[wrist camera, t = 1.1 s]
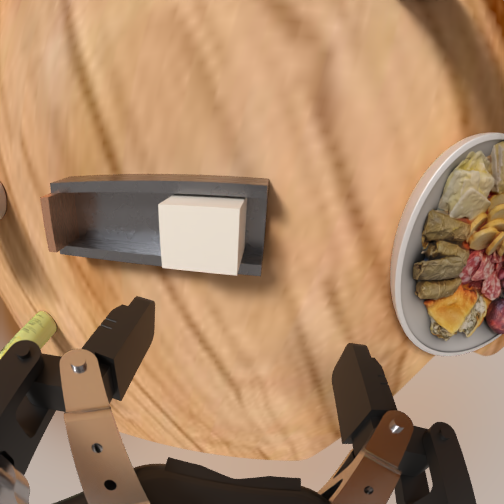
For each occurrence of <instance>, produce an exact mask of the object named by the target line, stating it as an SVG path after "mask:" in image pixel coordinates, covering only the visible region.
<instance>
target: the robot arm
mask: <svg viewBox="0 0 504 504" xmlns="http://www.w3.org/2000/svg"><path fill="white" fill-rule="evenodd" d="M154 322H155V302H154V301H152V300H148V299H145V298H141V297H138V296H137V297H135V298H134V300H133V301H132V302H131V303H130V305H129V306H125V305H121V306H119V307H117V308H115V309H113V310H112V311H111V312H110V313H109V315H108V316H107V317H106V319H105V320H104V321H103V322H102V323H101V326H99V327H98V328H97V330H96V331H95V332H94V333H93V335H92V336H91V337H90V338H89V340H88V341H87V342H86V344H85V345H84V346H83V347H82V349H73V350H70V351H68V352H66V353H65V354H64V355H63V356H62V357H60V356H53V355H47V354H42V353H41V350H40V348H39V346H38V345H37V344H36V343H35V342H33V341H30V340H21V341H18V342H16V343H14V344H13V345H12V346H11V347H10V348H9V349H8V350H7V352H6V353H5V354H4V355H3V356H2V358H1V359H0V504H29V494H30V487H29V483H28V481H27V479H26V478H25V476H24V474H25V472H26V470H27V468H28V465H29V463H30V461H31V459H32V456H33V455H34V452H35V450H36V448H37V446H38V444H39V442H40V440H41V438H42V436H43V434H44V432H45V430H46V428H47V426H48V424H49V422H50V421H51V419H52V417H53V415H54V413H55V411H56V410H58V411H64V412H65V413H64V421H65V425H66V430H67V435H68V440H69V444H70V448H71V452H72V455H73V459H74V463H75V467H76V470H77V473H78V476H79V479H80V483H81V486H82V488H83V492H81V493H79V494H76V495H74V496H71V497H69V498H67V499H64V500H61V501H59V502H56V503H53V504H386V503H387V502H388V500H389V498H390V496H391V494H392V492H393V490H394V488H395V495H396V503H397V504H476V500H475V496H474V492H473V488H472V484H471V481H470V477H469V474H468V471H467V467H466V464H465V460H464V457H463V454H462V451H461V448H460V445H459V442H458V439H457V436H456V434H455V432H454V430H453V429H452V427H451V426H449V425H448V424H446V423H443V422H437V423H435V424H433V425H432V426H431V427H430V428H429V429H425V428H420V427H416V426H413V423H412V421H411V419H410V418H409V417H408V416H407V415H406V414H405V413H403V412H401V411H397V408H396V405H395V402H394V399H393V396H392V393H391V391H390V388H389V385H387V384H388V382H387V380H386V378H385V374H384V371H383V369H382V366H381V365H380V364H379V363H378V362H377V360H376V359H375V358H371V356H370V353H369V350H368V348H367V346H366V345H361V344H353V343H349V344H347V346H346V347H345V349H344V351H343V353H342V355H341V357H340V359H339V361H338V363H337V364H336V366H335V368H334V371H333V374H332V385H333V390H334V396H335V402H336V408H337V413H338V420H339V426H340V432H341V439H342V444H353V449H352V450H351V451H350V452H349V454H348V455H347V457H346V458H345V460H344V461H343V462H342V464H341V465H340V467H339V468H338V469H337V470H336V472H335V473H334V474H333V476H332V477H331V478H330V480H329V481H328V482H327V483H326V484H325V485H324V486H323V487H322V488H321V489H320V490H319V491H318V492H315V491H313V490H311V489H309V488H305V487H303V486H301V479H300V478H285V477H273V476H267V477H257V478H247V479H233V478H230V477H227V476H225V475H222V474H219V473H217V472H215V471H212V470H210V469H207V468H206V467H203V466H201V465H197V464H192V463H188V462H184V461H181V460H177V459H173V458H170V457H169V458H168V459H167V463H166V464H149V465H142V466H139V467H135V468H133V466H132V464H131V462H130V459H129V457H128V454H127V452H126V449H125V447H124V444H123V442H122V439H121V436H120V434H119V431H118V428H117V425H116V422H115V419H114V416H113V413H112V410H111V407H110V405H109V404H110V402H111V400H112V398H114V399H116V400H119V401H122V399H123V397H124V395H125V393H126V391H127V389H128V387H129V385H130V383H131V381H132V379H133V377H134V375H135V373H136V371H137V369H138V368H139V366H140V364H141V362H142V360H143V358H144V356H145V354H146V352H147V351H148V349H149V347H150V345H151V343H152V340H153V336H154ZM428 467H429V469H430V473H431V477H432V482H433V487H432V490H431V492H429V487H428V482H427V478H426V473H425V470H426V469H427V468H428Z"/></svg>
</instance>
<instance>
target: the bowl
mask: <svg viewBox="0 0 504 504" xmlns="http://www.w3.org/2000/svg"><path fill="white" fill-rule="evenodd" d="M390 286H391V295H392V301H393V305H394V309H395V312H396V315H397V318H398V320H399V322H400V324H401V326H402V328H403V330H404V332H405V334H406V335H407V336H408V338H409V339H410V340H411V341H412V342H413V343H414V344H415V345H416V346H417V347H419V348H420V349H422V350H423V351H425V352H428V353H430V354H433V355H439V356H457V355H462V354H466V353H470V352H473V351H475V350H477V349H480V348H482V347H484V346H486V345H487V344H489V343H491V342H492V341H494V340H495V339H497V338H498V337H499V336H501V335H502V334H504V133H495V132H488V133H480V134H476V135H472V136H470V137H467V138H465V139H462V140H460V141H459V142H457V143H455V144H454V145H452V146H451V147H449V148H448V149H447V150H446V151H444V152H443V153H442V154H441V155H440V156H439V157H438V158H437V159H436V160H435V161H434V162H433V163H432V164H431V165H430V167H429V168H428V169H427V170H426V172H425V173H424V174H423V176H422V177H421V179H420V180H419V182H418V183H417V185H416V186H415V188H414V190H413V192H412V194H411V196H410V198H409V199H408V202H407V204H406V206H405V208H404V211H403V213H402V216H401V219H400V222H399V225H398V228H397V231H396V235H395V239H394V244H393V249H392V256H391V266H390Z"/></svg>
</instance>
